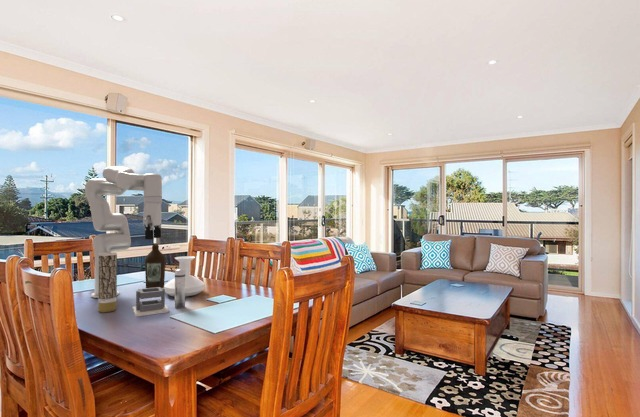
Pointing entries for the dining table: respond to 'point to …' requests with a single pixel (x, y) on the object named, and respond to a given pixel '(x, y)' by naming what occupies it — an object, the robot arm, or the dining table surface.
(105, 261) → the bark-patterned cylinder
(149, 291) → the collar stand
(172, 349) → the dining table surface
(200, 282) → the white vase
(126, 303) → the dining table surface
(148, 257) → the olive oil
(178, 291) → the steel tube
